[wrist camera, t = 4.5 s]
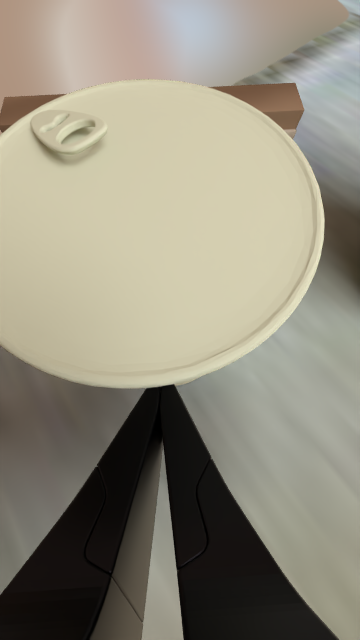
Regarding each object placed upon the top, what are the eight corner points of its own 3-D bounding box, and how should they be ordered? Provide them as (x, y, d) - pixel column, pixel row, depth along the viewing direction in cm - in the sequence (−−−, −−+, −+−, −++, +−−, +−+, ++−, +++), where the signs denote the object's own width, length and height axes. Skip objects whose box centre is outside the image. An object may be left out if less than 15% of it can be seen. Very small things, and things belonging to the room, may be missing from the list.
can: (165, 248, 18) (139, 15, 7) (253, 319, 16) (422, 167, 5) (81, 325, 16) (-157, 187, 5) (169, 416, 15) (121, 537, 3)
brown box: (262, 206, 19) (305, 112, 13) (61, 217, 19) (-4, 128, 13) (257, 183, 20) (295, 82, 14) (63, 193, 20) (4, 97, 13)
